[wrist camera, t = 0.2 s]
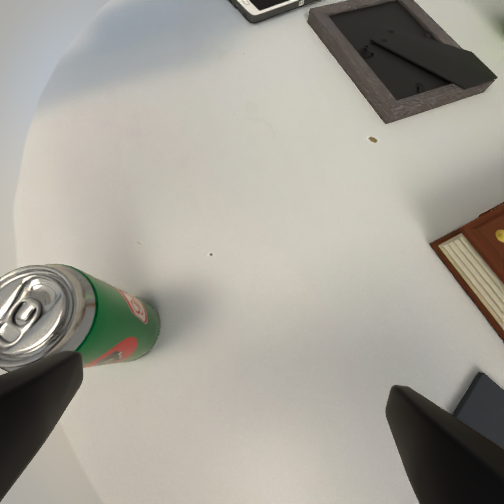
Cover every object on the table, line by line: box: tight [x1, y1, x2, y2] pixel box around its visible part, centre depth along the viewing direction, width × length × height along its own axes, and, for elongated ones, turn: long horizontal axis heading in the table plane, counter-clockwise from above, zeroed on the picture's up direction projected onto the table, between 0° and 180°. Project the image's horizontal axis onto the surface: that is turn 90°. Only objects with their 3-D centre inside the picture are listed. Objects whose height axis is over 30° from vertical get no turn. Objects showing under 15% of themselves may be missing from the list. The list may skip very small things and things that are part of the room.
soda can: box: [0, 264, 160, 372], centre depth 17 cm, size 5×5×12 cm
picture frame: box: [307, 0, 497, 124], centre depth 35 cm, size 16×2×21 cm
